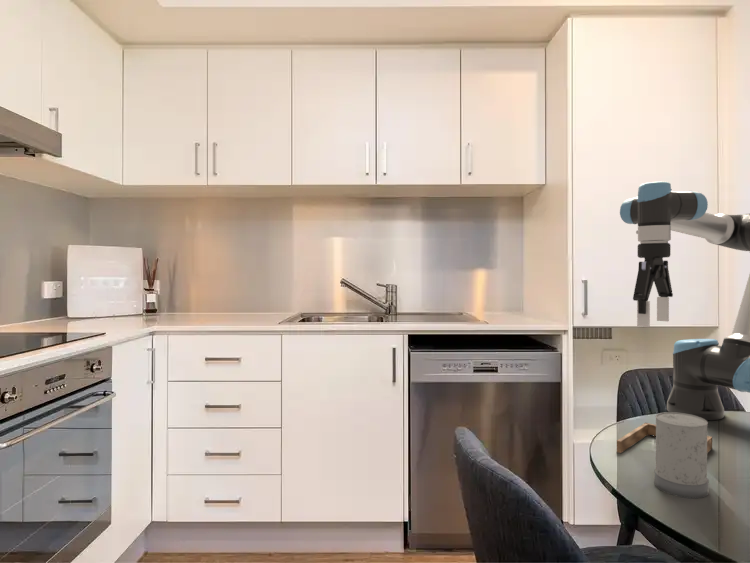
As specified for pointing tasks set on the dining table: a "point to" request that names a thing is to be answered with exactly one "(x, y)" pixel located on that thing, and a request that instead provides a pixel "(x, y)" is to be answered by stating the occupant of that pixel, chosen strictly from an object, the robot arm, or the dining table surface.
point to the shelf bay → (641, 433)
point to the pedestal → (681, 488)
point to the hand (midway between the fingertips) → (653, 323)
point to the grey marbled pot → (681, 448)
